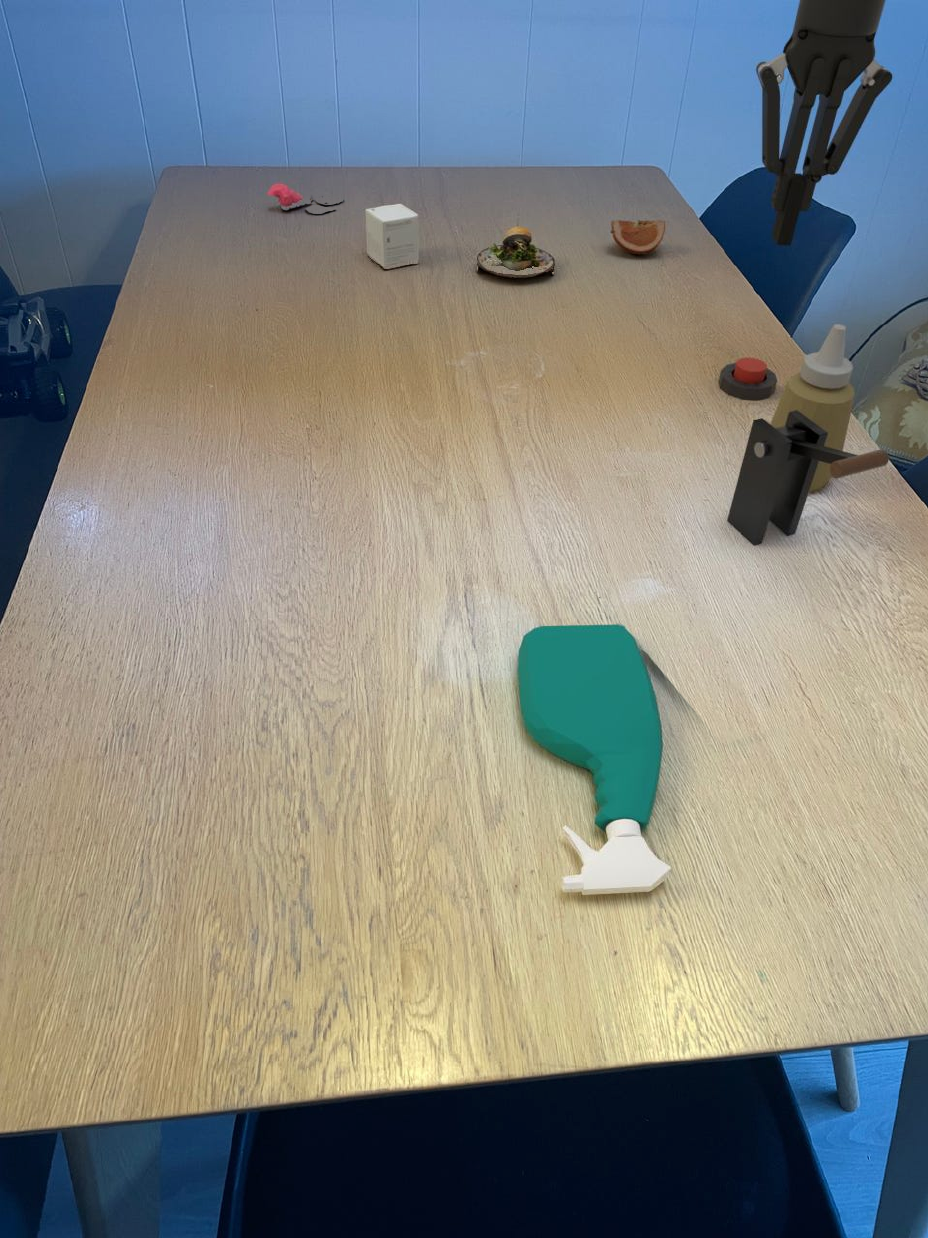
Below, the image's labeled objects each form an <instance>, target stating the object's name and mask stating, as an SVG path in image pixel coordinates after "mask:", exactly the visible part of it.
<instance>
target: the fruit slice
mask: <svg viewBox="0 0 928 1238" xmlns="http://www.w3.org/2000/svg"><path fill="white" fill-rule="evenodd" d="M610 223H611V230H610V234H612V237H613V241H614V242H615V243H616V244H617V245H618V246H619V247H620V248H621V249H622V250H624V251H625V252H626V253H629V254H632V255H635V254H638V255H637V256H641V255H640V254H642V255H646V254H649V253H651V252H652V251H654V250H655V249H657V248H658V247H659V245H660V244H661V242H662V241H663V239H664V236H665V232H666V221H665V220H640V219H638V220H637V221H632V220H615V219H613V220H611V222H610Z"/></svg>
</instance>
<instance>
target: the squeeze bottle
mask: <svg viewBox="0 0 928 1238" xmlns="http://www.w3.org/2000/svg"><path fill="white" fill-rule="evenodd" d="M846 333H847V326H846V325H843V324H840V323H835V324H834V325H833V326H832V327H831V329H830V331H829V333H828V334H827V336H826V338H825V340H824V341H823V344H821V345H822V346H821V347H820V349H819V350H818V352H816V351H815V352H812V353H809V354H806V355H805V357H804V358H803V362H802V363H801V367H800V371H799V372H798V373H794V374H793V375H791V376H790V377H789V379H788V380H787V382H786V384H785V386H784V389H783V392H782V394H781V396H780V399H779V401H778V404H777V407H776V409H775V411H774V413H773V417H772V419H771V421H770V423H769V424H770V425H772V426H773V427H774V428H779V427H783V426H785V424H786V420H787V417H788V413H789V412H791V411H795V410H798V411H799V412H800V413H802V414H803V415H805V416H806V417H807V418H809V419H810V420H811V421H813V422H814V423H815V424H817V425H818V426H819V427H821V428H822V429H824V430H825V431H826V432H828V435H827V438H826V441H825V444H824V446H825V447H829V448H833V449H837V450H840V451H844V446H845V442H846V438H847V432H848V428H849V424H850V419H851V415H852V410H853V405H854V402H855V401H854V400H855V396H856V391H855V388H854V387H853V385H852V384H851V383H850V379H851V376H852V373H853V371H854V366H853V362H851V361H850V360H849V359H848V358H846V357H845V350H846V349H845V347H846V335H847V334H846ZM830 465H831V464H828V463H825V462H821V461H819V463H818V466H817V469H816V472H815V475H814V478H813V481H812V484H811V487H810V490H809V493H815V492H817V491H819V490H821V489H823V488H824V487H825V485H826V484H827V483H828V482H829V481H830V480H831V478H832V477H833V476H832V475H831V473H830Z"/></svg>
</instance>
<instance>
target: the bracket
mask: <svg viewBox="0 0 928 1238" xmlns="http://www.w3.org/2000/svg"><path fill="white" fill-rule="evenodd" d="M770 424H771V423H769V422H768V421H766V419H764V418H762V417H760V418H757V419H753V421H752V424H751V428H750V431H749V436H748V440H747V444H746V447H745V451H744V454H743V459H742V462H741V466H740V469H739V473H738V477H737V481H736V485H735V489H734V492H733V497H732V500H731V503H730V507H729V512H728V516H727V519H726V521H727V522H728V524H730V526H732V527H733V528H734V529H735V530H736V531H737V532H738V533H739V534H740V535H741V536H743V538H744V539H746V540H747V542H749V543H750V544H751V545H752V546H754V547H755V546H758V545H763V541H764V539H765V535H766V531H767V529H768V525H769V522H771V524H772V525H774V526H775V527H776V528H777V529H778V530H779V531H781V532H782V533H783V535H785V536H786V537H790V536H793V535H796V532H797V531H798V530H797V529H798V526H799V523H800V521H801V518H802V514H803V511H804V508H805V505H806V502H807V499H808V496H809V493H810V492H809V490H810V487H811V484H812V481H813V478H814V475H815V472H816V469H817V466H818V463H819V461H818V460H814V459H811V458H808V457H802V458H798V459H794V460H790V461H787V459H788V455H789V452H790V449H791V445H792V441H791V440H790V439H788V438H787V437H786V436H785V435H783V434H782V433H781V432H779V431H778V430H777V429H776V428H774V427H773V426H772V425H770ZM785 426H788V427H792V428H795V429H799V430H803V431H806V441H807V442H810V443H814V444H818V445H822V446H824V444H825V441H826V438H827V435H828V432H826V431H825V430H824V429H822V428H821V427H819V426H818V425H817V424H815V423H814V422H813V421H811V420H810V419H809V418H807V417H806V416H805V415H803V414H802V413H800V412H799V411H798V410H795V411H791V412H789V413H788V417H787V420H786V424H785Z"/></svg>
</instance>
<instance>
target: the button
mask: <svg viewBox="0 0 928 1238" xmlns="http://www.w3.org/2000/svg"><path fill="white" fill-rule="evenodd" d="M735 363H736V366H735V370H734V375H733V376H734V378H735V379H736V380H738V381H741V382H744V383H750V384H758V383H762V382H763V381H764V377H765V373H766V370H767V368H768V365H767V363H766V362H764V360H761V359H759V358H755V357H741V358H738V359H737V360H736V362H735Z"/></svg>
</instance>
